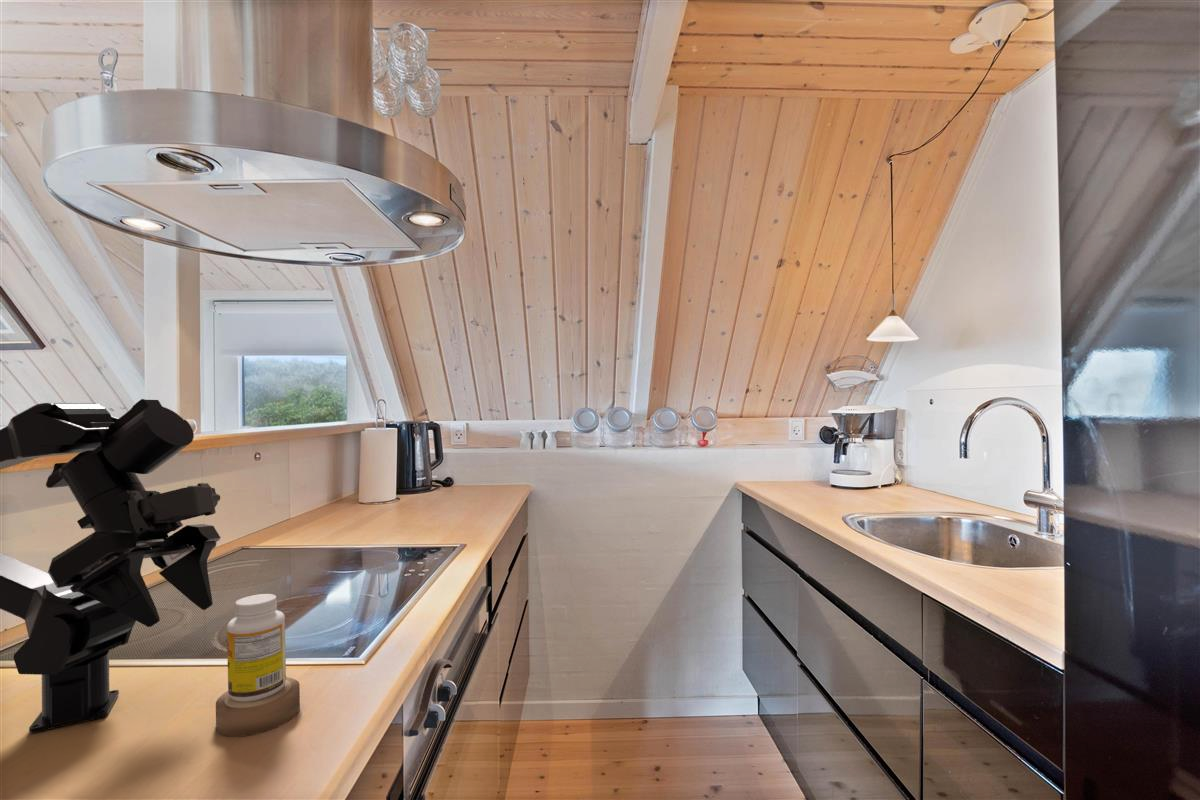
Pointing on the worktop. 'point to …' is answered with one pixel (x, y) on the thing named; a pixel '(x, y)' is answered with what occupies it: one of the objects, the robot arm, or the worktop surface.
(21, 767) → the worktop surface
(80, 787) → the worktop surface
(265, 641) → the supplement bottle
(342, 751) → the worktop surface
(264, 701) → the walnut stand
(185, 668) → the worktop surface
